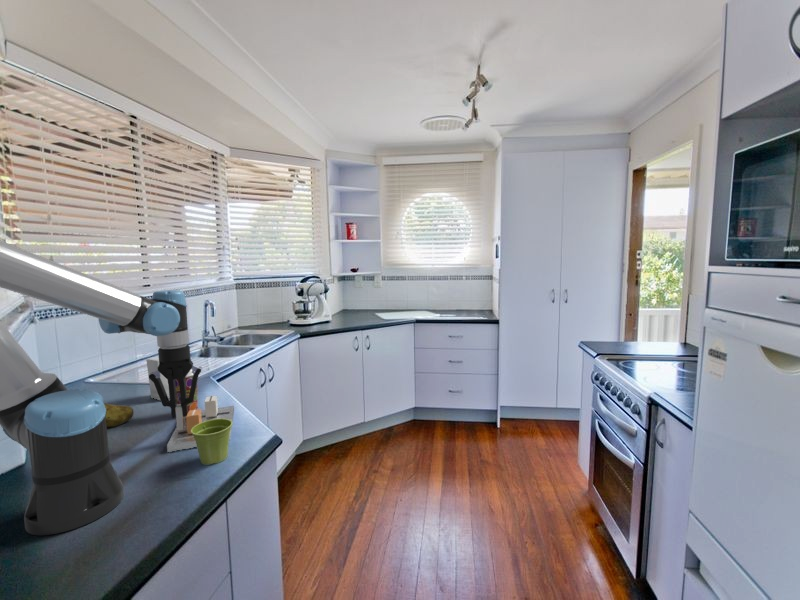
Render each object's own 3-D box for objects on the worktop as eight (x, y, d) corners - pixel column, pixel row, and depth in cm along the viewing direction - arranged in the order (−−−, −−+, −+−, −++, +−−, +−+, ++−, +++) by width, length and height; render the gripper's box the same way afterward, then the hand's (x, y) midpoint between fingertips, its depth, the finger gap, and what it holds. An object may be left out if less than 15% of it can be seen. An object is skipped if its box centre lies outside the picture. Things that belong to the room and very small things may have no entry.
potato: (136, 424, 118) (134, 399, 117) (83, 437, 110) (80, 410, 109) (133, 416, 124) (131, 393, 124) (83, 428, 116) (80, 403, 115)
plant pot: (242, 452, 97) (240, 420, 96) (213, 471, 88) (211, 436, 88) (215, 447, 100) (212, 416, 100) (184, 465, 92) (181, 431, 91)
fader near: (187, 434, 104) (186, 416, 104) (190, 427, 109) (189, 410, 108) (199, 432, 105) (198, 414, 105) (202, 425, 110) (200, 408, 109)
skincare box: (178, 396, 143) (175, 356, 142) (160, 402, 138) (156, 360, 137) (167, 393, 148) (164, 354, 147) (149, 398, 142) (145, 358, 141)
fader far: (205, 417, 115) (204, 401, 115) (207, 411, 120) (206, 396, 120) (216, 415, 116) (215, 400, 116) (218, 410, 121) (216, 395, 121)
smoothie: (187, 419, 121) (182, 358, 119) (165, 418, 122) (160, 358, 120) (206, 409, 129) (201, 352, 127) (185, 408, 130) (180, 352, 129)
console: (167, 452, 99) (166, 445, 98) (183, 419, 121) (183, 412, 121) (229, 441, 104) (229, 434, 104) (234, 411, 126) (233, 405, 126)
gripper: (201, 341, 109) (208, 418, 111) (149, 346, 105) (157, 427, 107) (198, 346, 102) (205, 428, 105) (142, 351, 98) (150, 438, 100)
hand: (181, 427), depth 106 cm, fingers closed
